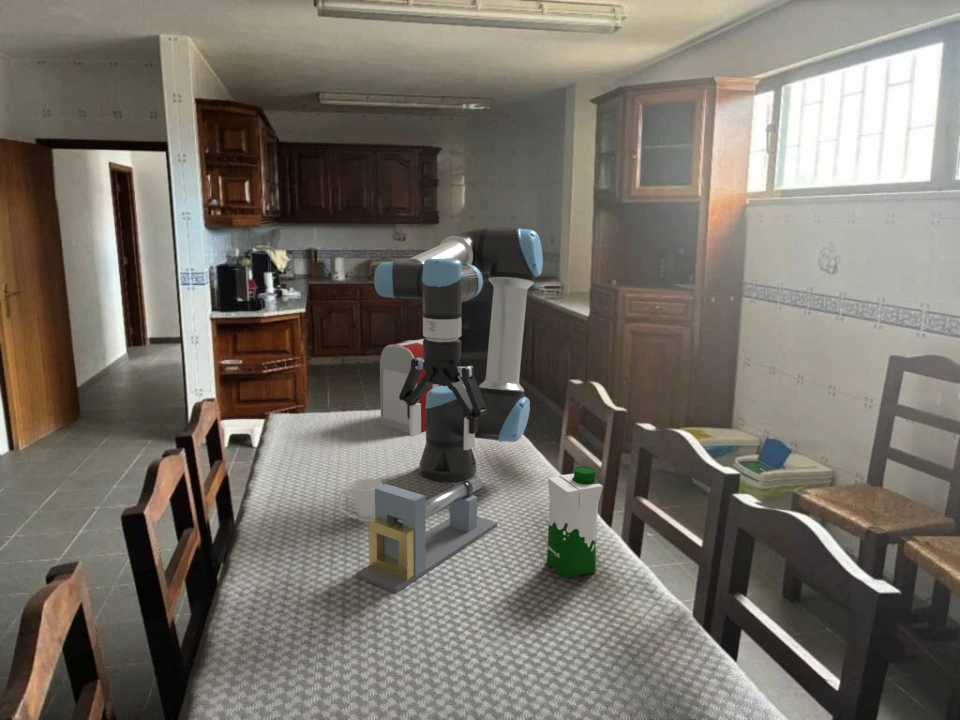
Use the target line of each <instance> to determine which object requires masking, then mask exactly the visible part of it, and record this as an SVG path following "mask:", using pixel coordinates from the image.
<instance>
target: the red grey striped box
mask: <svg viewBox="0 0 960 720" xmlns="http://www.w3.org/2000/svg"><path fill="white" fill-rule="evenodd" d="M425 338H426V337H424V338H418V339H414V340H405V341H402V342H397V343H393V344H389V345H386V346H385V347H383V350H382V352H381V354H380V359H379V360H380V361H379V377H380V378H379V381H380V382H379V384H380V385H379V386H380V388H379V389H380V390H379V391H380V392H379V393H380V425H383V426H384V427H385V426H386V427H388V428H392V429H395V430H398V431H402V432H404V433H408V434H410V419H408V417H407V404H406V402H405V401H403V400H400V399H399V395H400V393H401V391H402V388H403V386H404V383H405V381H406V379H407V376H408V374H409V372H410V369H411V360H412V359H415V358H419V357H422V358H423V360H425V358H424V357H423V340H424V339H425ZM425 374H426V372H425V370H424V368H423V369H422V372H421V374H420V376H419V379H418V381H417V383H416V386H415V388H416V387H417V386H418V384H419V383H420V382H421V379H422V378H423V376H424V375H425ZM438 386H441V385H440V384H436V385H435V384H433V383H432V384H431V385H430V386H429V388H428V389H427V390H426V391H425V393H424V394H423V395H422V396H421V398H420V399H419V400H418V401H419V402H416V404H417V403H420V404H421V434H423V433H426V408H425V406H426V396H427V393H428V392H429V391H430V390H431V389H433V388H435V387H438ZM415 388H414V389H415ZM413 391H414V390H413Z"/></svg>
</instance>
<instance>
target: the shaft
mask: <svg viewBox="0 0 960 720" xmlns="http://www.w3.org/2000/svg"><path fill="white" fill-rule="evenodd" d="M482 486H483V483H482V480H481V478H480V477H479V476H477V475H474V476H472V477H470V478H468V479H465V480H462V481H461V482H459V483H457V484H456V485H454V486H451V487H450V488H449V489H447V490H446V489H445V491H443V492H441V493H438V494H437V495H435V496H433V497H432V498H429V499H428V500H426V519H428V518H429V517H431V516H433V515H435V514H437V513H439V512H440V511H441V510H444V509H446V508H448V507H450V505H451V504H453V503H454V502H456V501H458V500H460V499H462V498H463V497H466V496H467V495H469V494H470V495H472V494H473V493H474V492H476V491H477V490H480V488H482ZM393 523H396V524H399V525H402V526H403V520H402V519H399V518H396V517H395V518H394V520H393Z"/></svg>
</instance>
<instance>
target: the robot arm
mask: <svg viewBox="0 0 960 720" xmlns="http://www.w3.org/2000/svg"><path fill="white" fill-rule="evenodd" d="M543 256H544V255H543V248H542V242H541V239H540V236H539V234H538V233H537V232H536V231H535V230H532V229H527V228H510V227H509V228H508V227H507V228H504V227H503V228H499V227H498V228H497V227H496V228H495V227H493V228H492V227H491V228H490V227H489V228H488V227H476V228H471V229H468V230H467V229H466V230H464V231H460V232H457V233H455V234H453V235H449V236H446V238H444V239H442V240H441V242H440V243H439V245H437V246H435V247H432V248H430V249H428V250H426V251H423V252H422V253H419V254H416V255H415V256H412V257H409V258H408V259H406V260H403V261H399V262H398V261H393V260H391V261H383V262H380V263H379V264H378V265H377V267H376V268H375V272H374V276H373V278H374V279H373V280H374V288H375V289H374V290H375V292H376V293H377V294H378V295H379V296H380V297H384V298H392V299H407V300H422V335H423V337H424V338H425V339H424V338H423V339H424V340H423V357H424V358H425V360H423V358H422V357H419V358H415V359H412V360H411V369H410V372H409V374H408V376H407V379H406V381H405V383H404V386H403V388H402V391H401V393H400V395H399V399H400V400H403V401H405V402H406V404H407V417H408V419H410V433H409V437H412V438H413V437H416V436H418V435H421V434H422V433H421V404H420V403H417V404H416V402H419V401H418V400H419V399H420V398H421V396H422V395H423V394H424V393H425V391H426V390H427V389H428V388H429V386H430V385H431V384H432V383H433V384H435V385H436V384H440V385H441V386H438V387H435V388H433V389H431V390H430V391H429V392H428V393H427V396H426V406H425V408H426V431H425V444H424V445H425V446H424V448H423V452H422V455H421V458H420V461H419V465H418V468H419V470H418V472H419V474H420V476H422V477H423V478H425V479H428V480H432V481H437V482H459V481H465V480H467V479H469V478H471V477H473V476H476V474H477V461H476V458H475V455H474V452H473V448H475V446H476V443H475V441H476V439H482V440H489V441H498V442H499V443H502V442H507V443H508V442H509V443H515V442H517V441H519V440H520V439H521V437H522V436H523V434H524V433H525V430H526V428H527V424H528V421H529V416H530V411H531V409H530V408H531V406H530V405H531V402H530V399H529V397H526V396H525V389H524V388H523V386H522V385H521V384H520V372H521V364H522V363H521V361H522V351H523V340H524V329H525V318H526V307H527V299H528V298H527V297H528V296H527V295H528V290H529V288H530V287H532V286H533V285H534V284H535V277H537V278H538V277H539V276H541V275H542V272H543V264H544V257H543ZM483 274H488V281H489V282H490V283H491V285H492V287H493V293H492V302H491V303H492V305H491V315H490V324H489V326H490V327H489V337H488V348H487V359H486V361H487V362H486V369H485V379H484V381H483V382H482V383H480V384H478V382H477V380H476V377H475V367H474V366H473V365H468V366H461V364H460V360H461V357H462V340H461V337H462V303H463V302H468V301H471V300H473V299H474V298H475V297H476V296H478V295H479V294H480V293H481V290H482V289H483V285H484V279H483ZM423 368H424V370H425V372H426V374H425V375H424V376H423V378H422V379H421V382H420V383H419V384H418V386H417V387H416V388H415V386H416V383H417V381H418V379H419V376H420V374H421V372H422V369H423ZM414 388H415V389H414ZM413 390H414V391H413Z"/></svg>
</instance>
